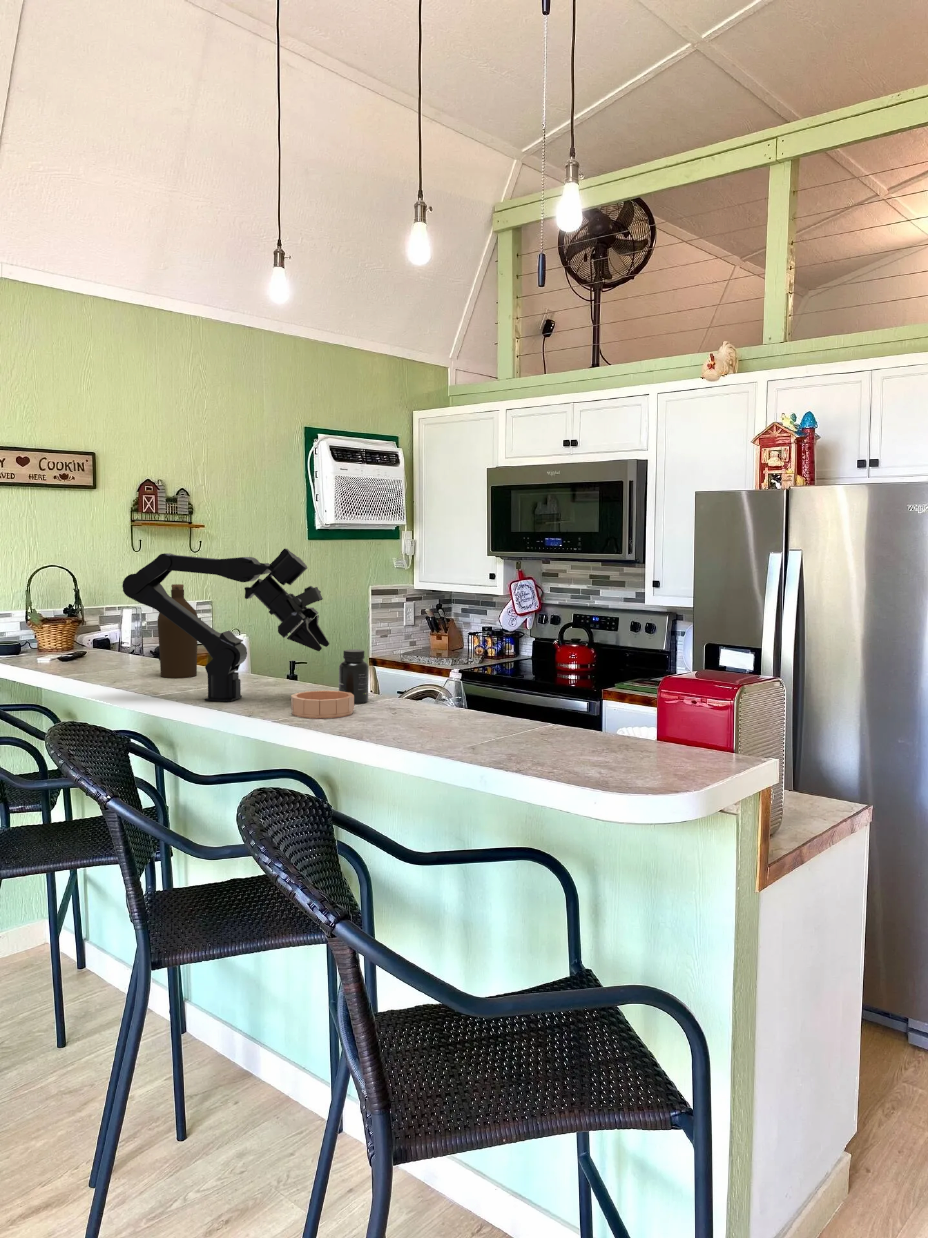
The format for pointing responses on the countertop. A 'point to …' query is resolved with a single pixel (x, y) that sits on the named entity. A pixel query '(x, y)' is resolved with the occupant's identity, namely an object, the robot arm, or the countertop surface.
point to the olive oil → (176, 643)
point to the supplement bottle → (354, 675)
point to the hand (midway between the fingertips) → (324, 647)
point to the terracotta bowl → (322, 704)
